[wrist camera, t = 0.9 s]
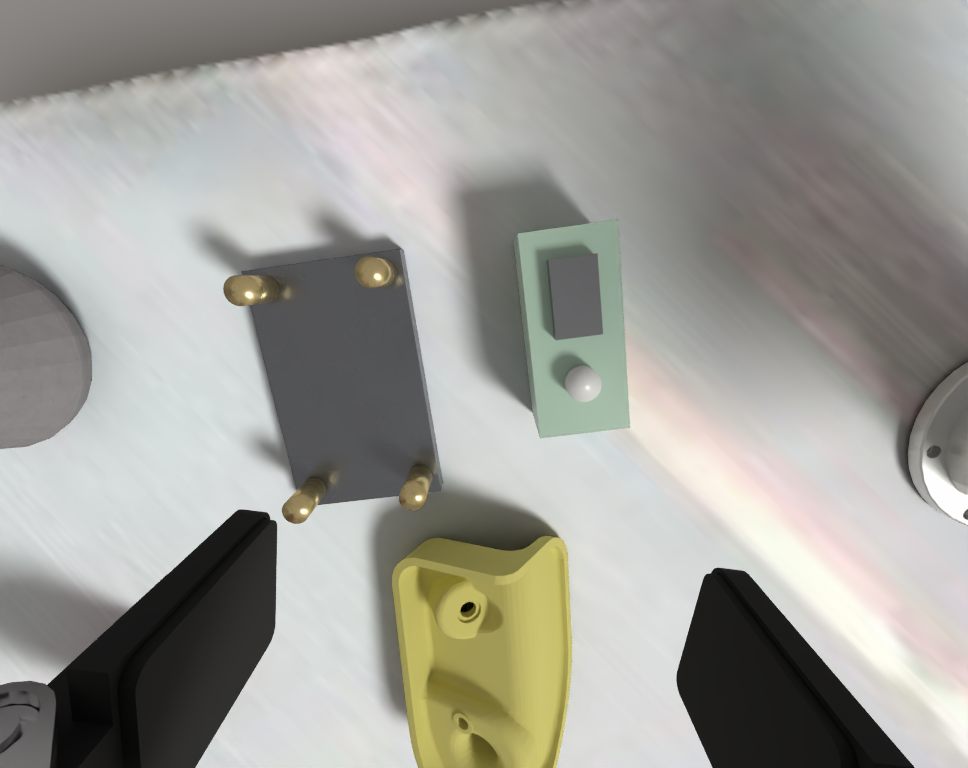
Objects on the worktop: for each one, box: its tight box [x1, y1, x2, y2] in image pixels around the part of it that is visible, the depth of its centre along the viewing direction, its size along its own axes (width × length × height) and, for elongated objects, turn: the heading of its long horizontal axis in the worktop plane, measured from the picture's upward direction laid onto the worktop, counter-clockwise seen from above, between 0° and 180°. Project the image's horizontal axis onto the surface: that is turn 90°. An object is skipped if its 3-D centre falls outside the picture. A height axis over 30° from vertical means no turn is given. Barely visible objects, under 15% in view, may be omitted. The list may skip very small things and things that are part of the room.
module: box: [513, 219, 630, 438], centre depth 26 cm, size 5×11×6 cm, turn 8°
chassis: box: [223, 249, 443, 524], centre depth 27 cm, size 10×16×4 cm, turn 8°
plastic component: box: [392, 536, 572, 768], centre depth 32 cm, size 20×7×10 cm
